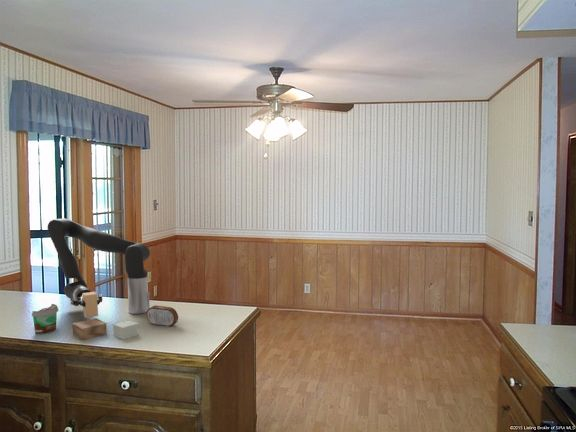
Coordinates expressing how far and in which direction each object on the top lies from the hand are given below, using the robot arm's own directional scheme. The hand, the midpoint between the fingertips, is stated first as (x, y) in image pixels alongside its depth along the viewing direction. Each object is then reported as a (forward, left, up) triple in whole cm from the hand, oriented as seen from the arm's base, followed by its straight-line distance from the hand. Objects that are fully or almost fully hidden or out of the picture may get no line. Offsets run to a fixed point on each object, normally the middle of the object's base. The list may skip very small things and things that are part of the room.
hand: (91, 303), depth 200 cm
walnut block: (+3, +10, -11) cm, 15 cm away
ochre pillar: (0, -3, -6) cm, 7 cm away
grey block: (-9, +20, -11) cm, 24 cm away
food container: (+16, -5, -11) cm, 20 cm away
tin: (-26, +16, -11) cm, 32 cm away
